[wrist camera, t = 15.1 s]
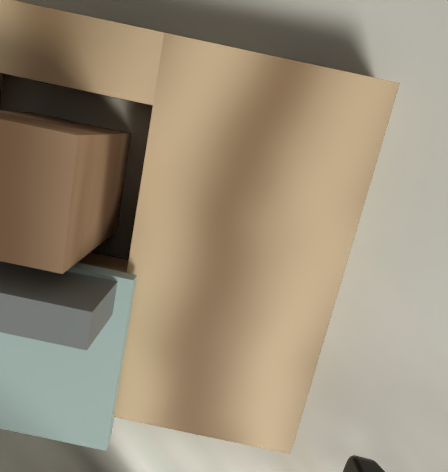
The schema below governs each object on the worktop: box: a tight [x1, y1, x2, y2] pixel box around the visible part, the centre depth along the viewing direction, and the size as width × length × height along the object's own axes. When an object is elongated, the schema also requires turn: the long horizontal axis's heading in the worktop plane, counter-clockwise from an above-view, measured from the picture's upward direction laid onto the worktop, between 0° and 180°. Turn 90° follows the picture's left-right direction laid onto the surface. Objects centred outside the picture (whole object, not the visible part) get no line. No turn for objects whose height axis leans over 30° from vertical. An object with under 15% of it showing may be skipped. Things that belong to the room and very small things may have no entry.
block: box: [0, 110, 131, 274], centre depth 16 cm, size 4×4×6 cm
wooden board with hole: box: [0, 0, 400, 454], centre depth 18 cm, size 20×16×2 cm
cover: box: [0, 261, 137, 451], centre depth 16 cm, size 8×8×3 cm
